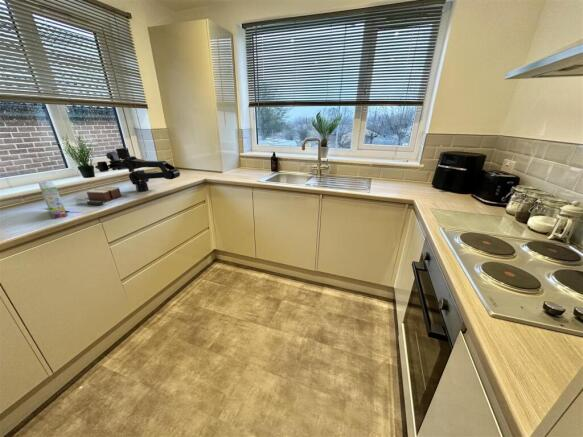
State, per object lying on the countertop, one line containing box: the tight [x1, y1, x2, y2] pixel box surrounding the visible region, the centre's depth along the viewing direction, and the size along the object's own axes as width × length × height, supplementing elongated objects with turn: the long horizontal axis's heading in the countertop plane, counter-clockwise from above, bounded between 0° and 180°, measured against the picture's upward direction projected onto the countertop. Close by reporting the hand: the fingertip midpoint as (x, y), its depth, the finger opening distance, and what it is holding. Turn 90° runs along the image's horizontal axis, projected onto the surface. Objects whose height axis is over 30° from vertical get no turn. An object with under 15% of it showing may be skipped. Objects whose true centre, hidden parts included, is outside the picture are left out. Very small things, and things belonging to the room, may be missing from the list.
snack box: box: [38, 180, 67, 219], centre depth 121 cm, size 21×6×15 cm, turn 48°
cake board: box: [85, 194, 128, 204], centre depth 144 cm, size 20×16×1 cm
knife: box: [74, 197, 105, 207], centre depth 132 cm, size 17×2×4 cm, turn 78°
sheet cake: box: [93, 186, 122, 198], centre depth 147 cm, size 12×6×5 cm, turn 78°
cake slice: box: [86, 189, 111, 200], centre depth 141 cm, size 12×4×5 cm, turn 78°
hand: (101, 166), depth 155 cm, fingers open, 9 cm apart
